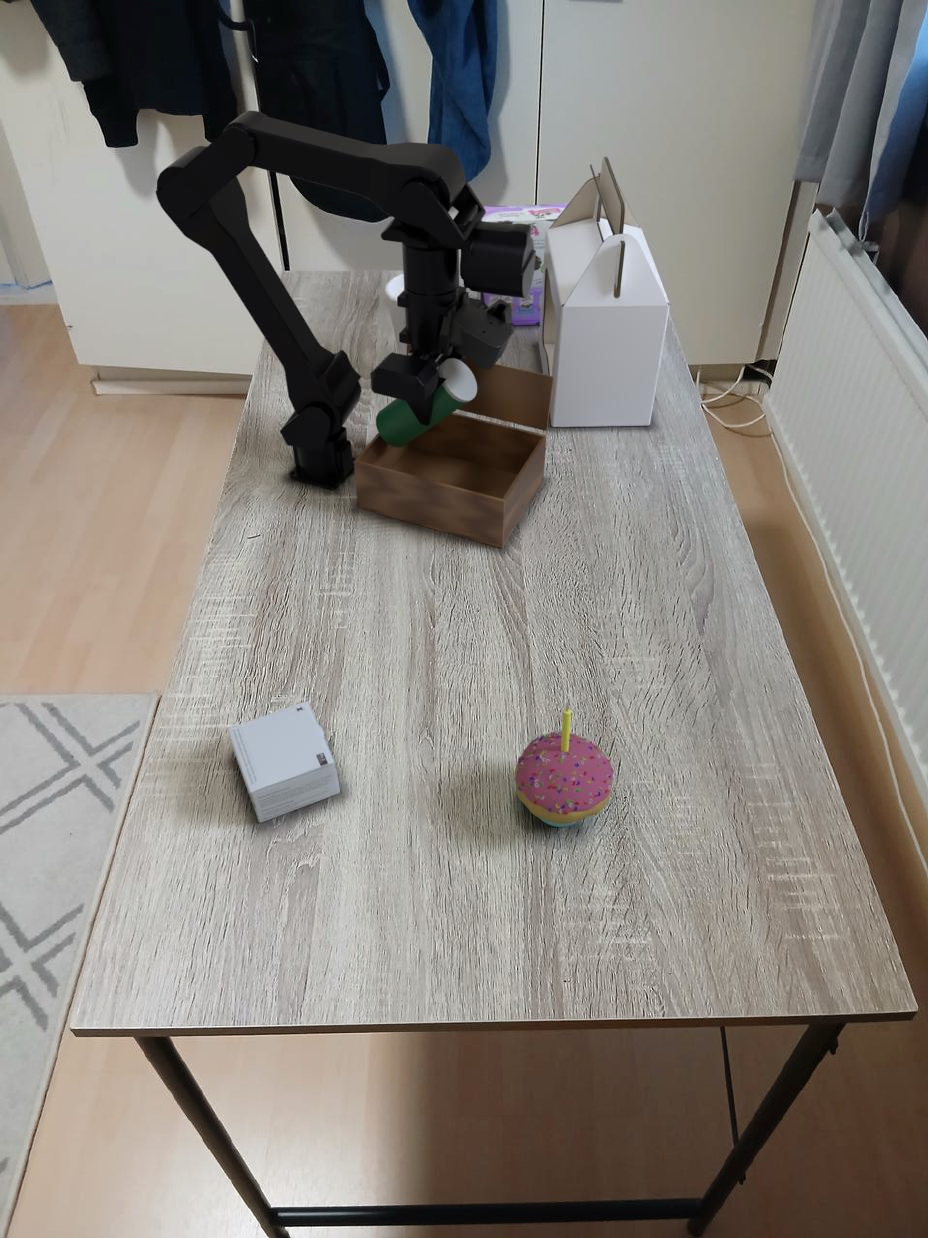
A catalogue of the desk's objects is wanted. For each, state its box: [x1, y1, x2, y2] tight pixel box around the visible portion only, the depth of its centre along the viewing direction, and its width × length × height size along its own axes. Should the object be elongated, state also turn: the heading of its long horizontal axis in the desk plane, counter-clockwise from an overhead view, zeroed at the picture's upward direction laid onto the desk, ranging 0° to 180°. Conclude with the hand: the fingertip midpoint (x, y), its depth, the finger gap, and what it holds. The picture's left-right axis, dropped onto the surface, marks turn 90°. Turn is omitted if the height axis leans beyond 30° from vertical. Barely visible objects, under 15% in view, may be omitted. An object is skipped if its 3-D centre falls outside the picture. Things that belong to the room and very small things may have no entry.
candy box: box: [477, 203, 569, 326], centre depth 139 cm, size 14×6×16 cm, turn 93°
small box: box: [227, 700, 341, 824], centre depth 83 cm, size 8×8×5 cm
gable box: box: [538, 156, 671, 428], centre depth 122 cm, size 22×13×28 cm, turn 1°
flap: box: [407, 344, 554, 432], centre depth 111 cm, size 19×7×1 cm
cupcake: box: [514, 701, 615, 828], centre depth 79 cm, size 9×8×12 cm
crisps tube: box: [375, 358, 477, 447], centre depth 107 cm, size 5×5×12 cm
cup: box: [384, 272, 407, 355], centre depth 129 cm, size 10×10×13 cm
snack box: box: [353, 412, 548, 549], centre depth 112 cm, size 19×14×7 cm
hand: (434, 412), depth 107 cm, fingers closed on crisps tube, 5 cm apart
